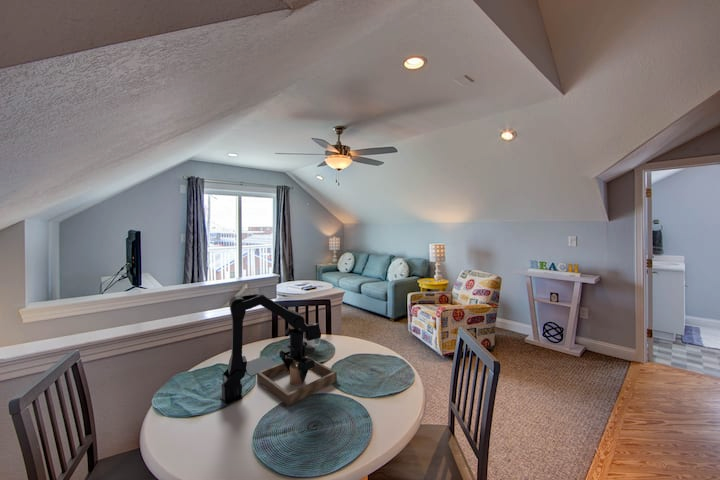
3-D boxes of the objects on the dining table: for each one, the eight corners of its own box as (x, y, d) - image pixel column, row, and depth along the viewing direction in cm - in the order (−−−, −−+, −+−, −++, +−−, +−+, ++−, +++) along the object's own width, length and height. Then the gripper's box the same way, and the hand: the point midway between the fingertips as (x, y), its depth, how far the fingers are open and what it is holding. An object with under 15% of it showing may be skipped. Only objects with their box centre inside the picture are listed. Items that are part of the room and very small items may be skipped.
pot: (295, 386, 126) (294, 370, 125) (287, 381, 130) (287, 365, 129) (306, 381, 130) (306, 365, 130) (298, 376, 134) (298, 360, 134)
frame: (288, 405, 113) (288, 395, 112) (257, 381, 130) (256, 372, 129) (336, 381, 130) (336, 372, 130) (303, 362, 147) (303, 354, 147)
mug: (318, 353, 157) (318, 333, 156) (296, 352, 158) (296, 332, 157) (322, 347, 165) (322, 327, 165) (301, 345, 167) (301, 327, 166)
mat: (251, 376, 134) (251, 375, 134) (237, 365, 143) (237, 365, 143) (279, 365, 144) (279, 364, 144) (264, 356, 153) (264, 355, 153)
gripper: (324, 343, 128) (325, 378, 129) (299, 331, 141) (299, 364, 142) (303, 351, 120) (303, 388, 121) (278, 338, 133) (279, 372, 134)
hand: (296, 377), depth 130 cm, fingers open, 9 cm apart
